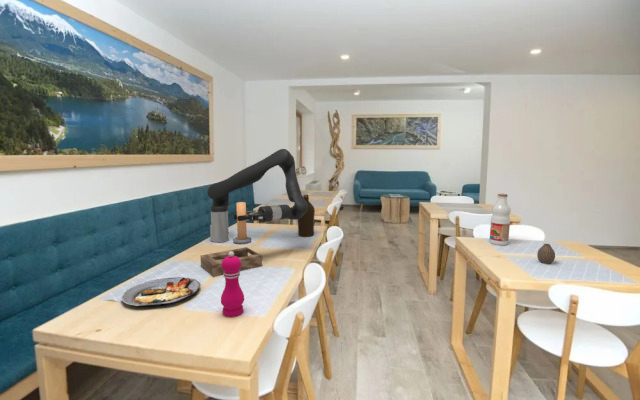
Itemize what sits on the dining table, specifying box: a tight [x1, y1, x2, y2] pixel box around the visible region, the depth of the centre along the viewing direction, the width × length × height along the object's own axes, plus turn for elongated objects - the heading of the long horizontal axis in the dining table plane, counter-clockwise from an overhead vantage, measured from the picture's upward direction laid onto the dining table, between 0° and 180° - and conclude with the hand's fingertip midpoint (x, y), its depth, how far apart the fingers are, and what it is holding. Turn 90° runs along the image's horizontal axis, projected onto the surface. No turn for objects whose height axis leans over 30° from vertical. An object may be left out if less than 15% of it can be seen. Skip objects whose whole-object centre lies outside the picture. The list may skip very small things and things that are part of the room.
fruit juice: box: [489, 193, 512, 246], centre depth 188 cm, size 9×9×28 cm
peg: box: [232, 201, 252, 245], centre depth 151 cm, size 8×8×18 cm
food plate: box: [120, 276, 201, 307], centre depth 120 cm, size 25×23×4 cm
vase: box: [536, 243, 556, 265], centre depth 156 cm, size 7×7×9 cm
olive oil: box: [297, 194, 315, 238], centre depth 206 cm, size 11×11×25 cm
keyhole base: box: [200, 246, 263, 278], centre depth 150 cm, size 22×16×5 cm
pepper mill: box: [220, 251, 245, 318], centre depth 106 cm, size 7×7×20 cm
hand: (235, 217), depth 149 cm, fingers closed on peg, 4 cm apart
